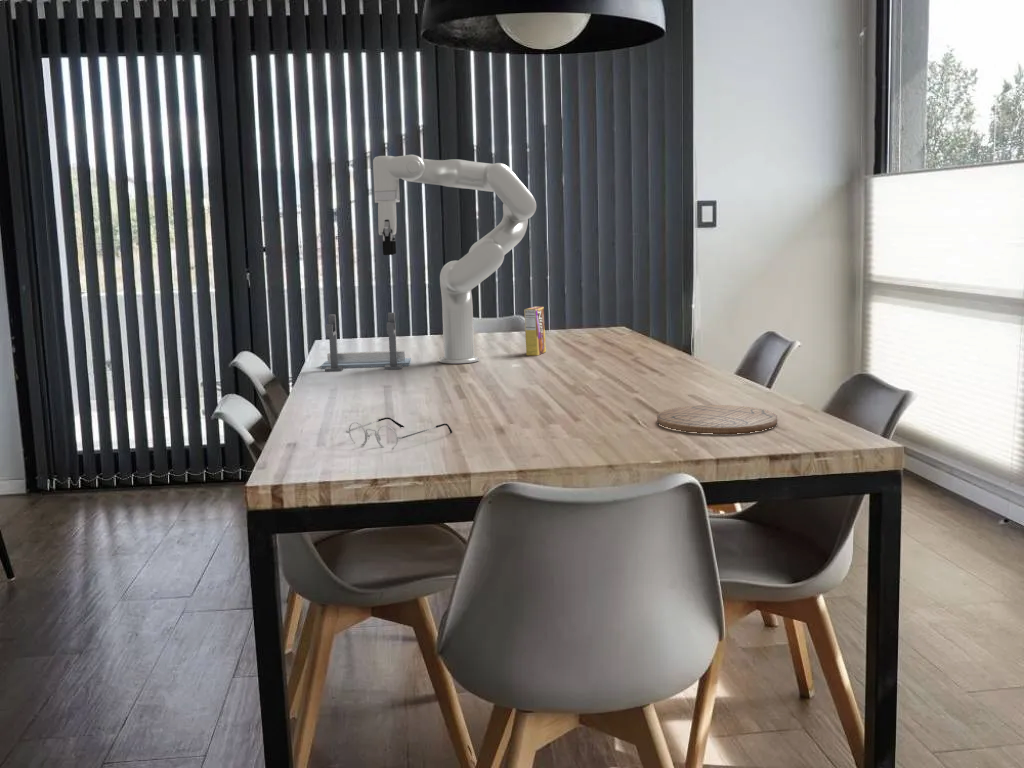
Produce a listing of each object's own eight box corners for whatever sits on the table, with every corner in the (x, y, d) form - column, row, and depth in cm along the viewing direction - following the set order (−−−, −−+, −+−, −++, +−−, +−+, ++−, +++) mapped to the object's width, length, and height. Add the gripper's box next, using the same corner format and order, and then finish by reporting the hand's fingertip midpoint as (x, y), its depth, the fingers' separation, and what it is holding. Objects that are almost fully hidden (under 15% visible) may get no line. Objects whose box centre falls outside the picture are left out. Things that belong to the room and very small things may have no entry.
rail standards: (327, 368, 314) (324, 314, 312) (402, 366, 315) (399, 312, 313) (323, 373, 305) (319, 317, 302) (400, 371, 306) (397, 314, 303)
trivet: (693, 409, 234) (693, 401, 234) (797, 420, 219) (797, 411, 218) (634, 428, 215) (634, 419, 215) (743, 442, 200) (743, 432, 199)
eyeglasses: (340, 445, 208) (338, 421, 207) (399, 428, 223) (398, 405, 222) (400, 453, 199) (399, 428, 198) (458, 435, 214) (457, 411, 213)
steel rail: (328, 362, 321) (328, 353, 321) (405, 359, 322) (404, 350, 322) (327, 363, 319) (327, 354, 318) (404, 361, 320) (404, 351, 319)
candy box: (533, 352, 341) (532, 306, 338) (546, 352, 339) (545, 306, 337) (525, 355, 332) (523, 308, 330) (537, 355, 331) (536, 308, 328)
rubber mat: (326, 363, 326) (326, 360, 326) (411, 361, 327) (410, 358, 327) (321, 368, 315) (321, 365, 315) (409, 365, 316) (408, 362, 316)
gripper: (377, 198, 318) (379, 253, 321) (372, 197, 301) (374, 255, 304) (401, 197, 319) (403, 253, 321) (397, 196, 302) (400, 255, 304)
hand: (389, 254), depth 313 cm, fingers open, 9 cm apart
